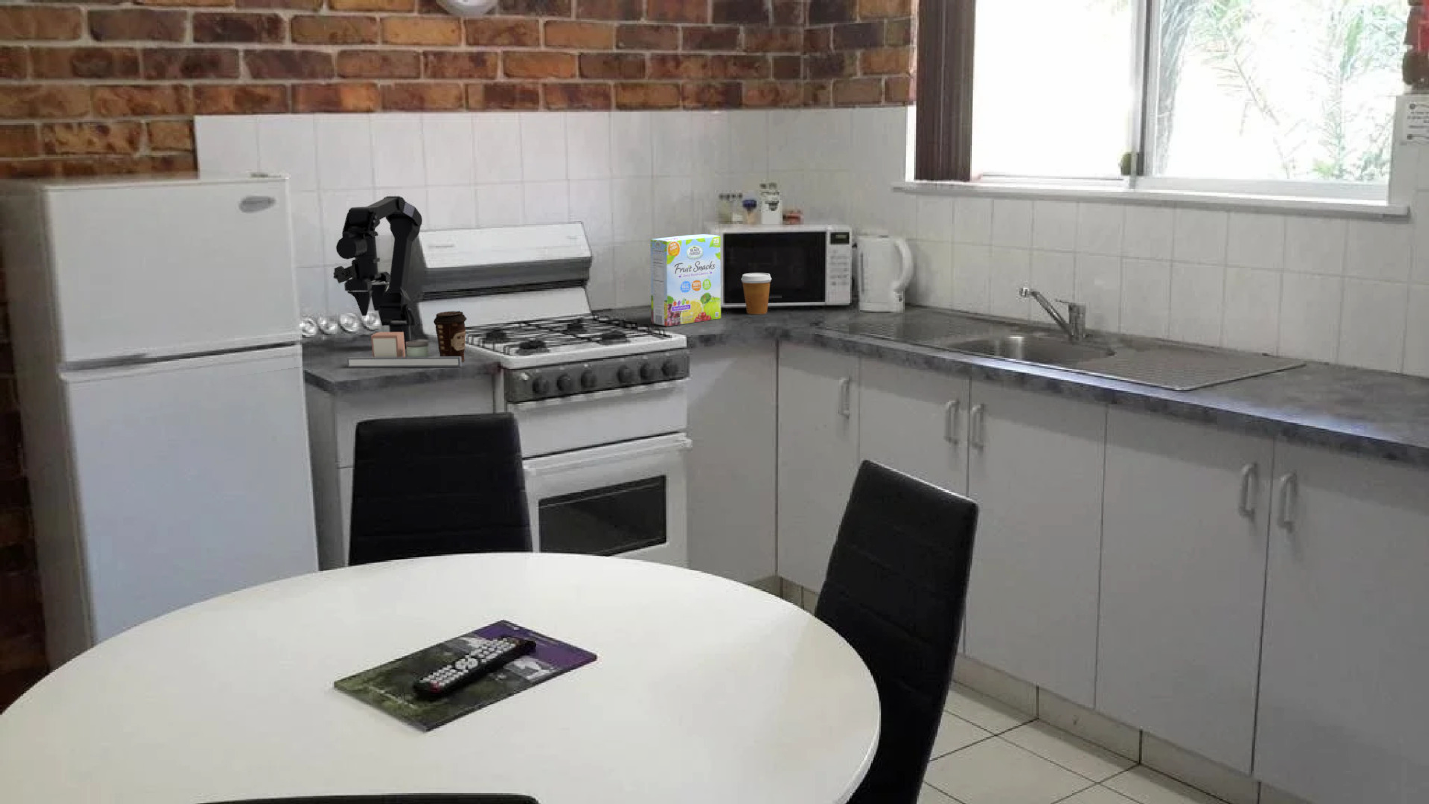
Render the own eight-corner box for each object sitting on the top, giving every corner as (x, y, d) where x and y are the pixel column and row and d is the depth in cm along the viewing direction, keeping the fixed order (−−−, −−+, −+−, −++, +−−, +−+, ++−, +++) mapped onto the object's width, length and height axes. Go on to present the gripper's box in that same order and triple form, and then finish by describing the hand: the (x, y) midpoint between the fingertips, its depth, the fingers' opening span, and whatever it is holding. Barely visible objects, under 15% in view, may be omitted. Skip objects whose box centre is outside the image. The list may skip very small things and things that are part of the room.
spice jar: (411, 362, 356) (409, 339, 355) (432, 361, 356) (431, 339, 354) (404, 366, 351) (402, 343, 349) (426, 366, 350) (424, 343, 349)
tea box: (380, 362, 357) (377, 332, 356) (405, 361, 357) (403, 332, 355) (373, 365, 352) (370, 335, 351) (399, 365, 352) (396, 335, 350)
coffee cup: (473, 358, 358) (470, 310, 355) (465, 364, 350) (461, 315, 347) (441, 359, 359) (438, 310, 356) (432, 365, 351) (428, 315, 348)
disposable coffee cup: (735, 313, 423) (734, 275, 420) (754, 309, 430) (754, 272, 427) (759, 316, 417) (758, 277, 414) (778, 312, 424) (777, 273, 421)
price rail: (349, 366, 352) (348, 357, 351) (461, 365, 349) (461, 356, 348) (347, 367, 350) (346, 358, 350) (460, 367, 347) (459, 357, 347)
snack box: (668, 327, 400) (665, 240, 394) (650, 324, 406) (647, 238, 401) (723, 318, 414) (721, 234, 408) (704, 315, 420) (702, 232, 414)
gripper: (349, 251, 368) (354, 308, 371) (322, 259, 350) (328, 319, 353) (389, 250, 367) (393, 307, 370) (364, 258, 349) (369, 318, 352)
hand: (370, 313), depth 361 cm, fingers open, 9 cm apart
